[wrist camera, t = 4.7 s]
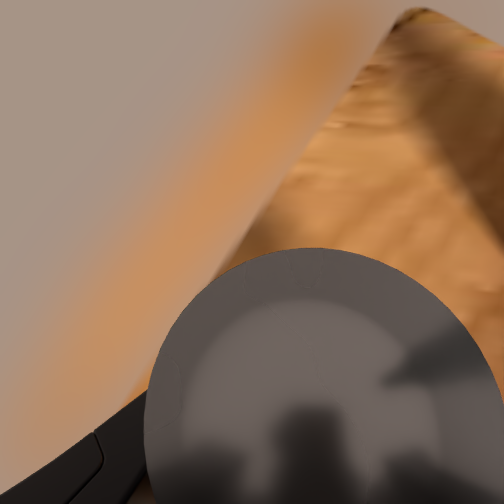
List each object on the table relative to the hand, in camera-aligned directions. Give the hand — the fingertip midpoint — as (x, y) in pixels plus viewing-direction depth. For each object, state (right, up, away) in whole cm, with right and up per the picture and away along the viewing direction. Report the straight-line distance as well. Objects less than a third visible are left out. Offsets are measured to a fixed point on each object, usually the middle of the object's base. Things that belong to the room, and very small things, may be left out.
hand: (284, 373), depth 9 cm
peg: (0, -4, +5) cm, 7 cm away
